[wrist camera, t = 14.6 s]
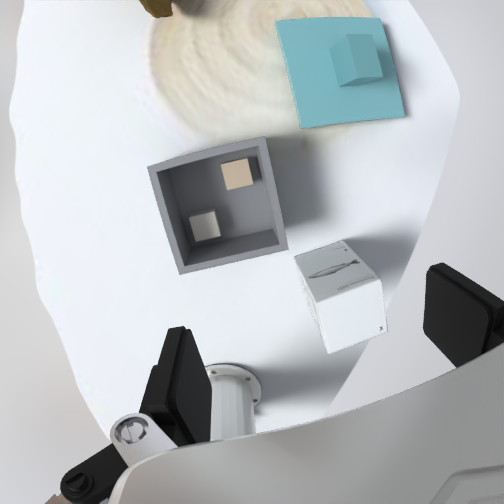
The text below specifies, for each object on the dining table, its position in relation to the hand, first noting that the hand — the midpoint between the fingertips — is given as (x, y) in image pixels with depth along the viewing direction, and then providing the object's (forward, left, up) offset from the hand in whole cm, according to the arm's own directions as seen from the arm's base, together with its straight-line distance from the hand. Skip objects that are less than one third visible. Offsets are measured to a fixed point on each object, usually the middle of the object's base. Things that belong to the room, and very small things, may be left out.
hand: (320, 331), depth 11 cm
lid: (+14, -14, -29) cm, 35 cm away
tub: (+1, +4, -28) cm, 29 cm away
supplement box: (-12, -7, -29) cm, 32 cm away
